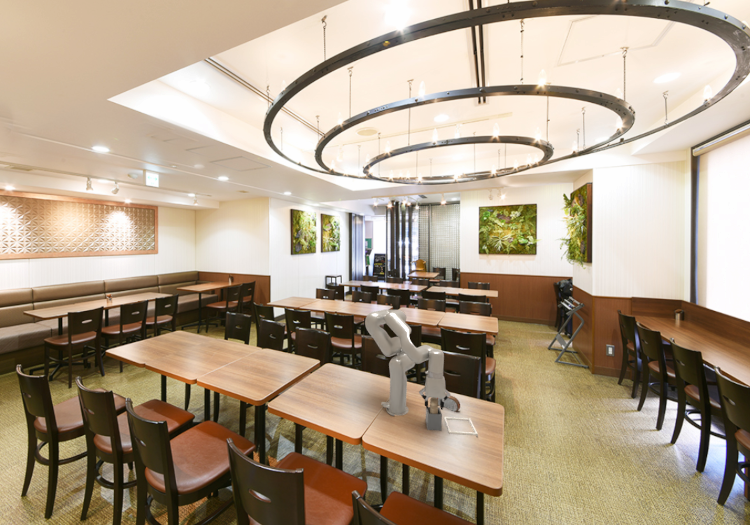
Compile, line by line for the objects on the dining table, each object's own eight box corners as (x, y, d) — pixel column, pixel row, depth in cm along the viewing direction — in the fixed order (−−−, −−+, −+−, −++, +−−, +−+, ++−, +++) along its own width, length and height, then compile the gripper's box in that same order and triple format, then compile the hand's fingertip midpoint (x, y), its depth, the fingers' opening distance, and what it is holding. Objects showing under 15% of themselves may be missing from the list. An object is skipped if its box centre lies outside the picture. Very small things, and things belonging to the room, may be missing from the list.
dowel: (429, 428, 146) (431, 401, 145) (428, 423, 150) (429, 397, 149) (437, 428, 146) (439, 401, 145) (436, 423, 150) (437, 397, 149)
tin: (460, 413, 162) (460, 398, 162) (457, 415, 160) (458, 400, 160) (436, 403, 172) (437, 389, 172) (434, 405, 170) (434, 391, 170)
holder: (427, 431, 144) (428, 414, 144) (425, 423, 151) (426, 406, 151) (441, 432, 144) (442, 415, 144) (438, 424, 151) (439, 407, 151)
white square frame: (449, 435, 142) (449, 432, 142) (443, 420, 155) (444, 416, 155) (477, 437, 141) (477, 433, 141) (469, 421, 154) (470, 418, 154)
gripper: (419, 376, 143) (417, 410, 144) (454, 378, 142) (452, 412, 143) (417, 370, 151) (416, 403, 151) (450, 371, 150) (449, 404, 151)
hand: (434, 407), depth 147 cm, fingers open, 6 cm apart
